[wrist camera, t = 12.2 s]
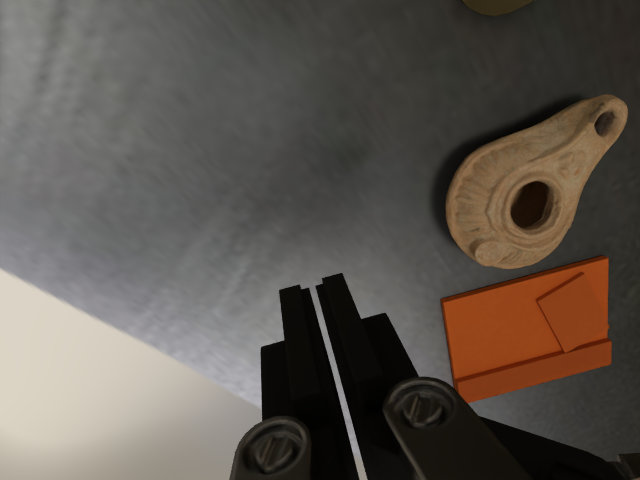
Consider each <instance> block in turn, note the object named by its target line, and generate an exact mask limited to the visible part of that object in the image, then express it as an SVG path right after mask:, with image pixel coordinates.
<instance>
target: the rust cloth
mask: <svg viewBox="0 0 640 480" xmlns="http://www.w3.org/2000/svg"><path fill="white" fill-rule="evenodd" d="M441 305H442V311H443V317H444V324H445V330H446V337H447V343H448V350H449V356H450V363H451V369H452V376H453V382H454V389H455V390H456V391H457V392H458V393H459V394H460V395H461V397H462V398H463V399H464V400H465V401H466V402H467V403H470V402H474V401H477V400H481V399H485V398H488V397H492V396H496V395H500V394H503V393H507V392H511V391H514V390H518V389H522V388H525V387H529V386H533V385H536V384H540V383H544V382H547V381H551V380H555V379H558V378H562V377H566V376H569V375H573V374H577V373H580V372H584V371H588V370H591V369H595V368H599V367H602V366H606V365H610V364H611V343H612V342H611V340H609V339H608V338H607V329H608V328H610V327H609V325H608V323H607V319H608V258H607V257H605V256H599V257H595V258H592V259H588V260H584V261H580V262H577V263H573V264H569V265H566V266H562V267H558V268H554V269H551V270H547V271H543V272H540V273H536V274H532V275H528V276H525V277H521V278H517V279H513V280H510V281H506V282H502V283H499V284H495V285H491V286H487V287H484V288H480V289H476V290H473V291H469V292H465V293H461V294H458V295H454V296H450V297H447V298H443V299H441Z"/></svg>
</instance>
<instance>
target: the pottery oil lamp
mask: <svg viewBox="0 0 640 480" xmlns="http://www.w3.org/2000/svg"><path fill="white" fill-rule="evenodd" d="M627 117H628V109H627V106H626V104H625V103H624V102H623V101H622V100H620V99H619V98H617V97H615V96H613V95H607V94H605V95H600V96H597V97H593V98H588V99H584V100H581V101H579V102H576V103H574V104H572V105H570V106H568V107H567V108H565V109H563V110H561V111H560V112H558V113H556V114H555V115H553V116H551V117H550V118H548V119H546V120H544V121H542V122H540V123H539V124H537V125H534V126H532V127H530V128H527V129H524V130H522V131H519V132H516V133H513V134H511V135H508V136H505V137H502V138H500V139H497V140H495V141H492V142H490V143H487V144H485V145H483V146H481V147H479V148H478V149H476V150H475V151H473V152H472V153H471V154H469V155H468V156H467V157H466V158H465V159H464V161H463V162H462V163H461V165H460V166H459V168H458V169H457V171H456V172H455V175H454V177H453V179H452V182H451V184H450V186H449V189H448V192H447V196H446V204H445V207H446V220H447V224H448V227H449V230H450V233H451V236H452V237H453V239H454V240H455V242H456V243H457V244H458V246H459V247H460V248H461V249H462V250H463V251H464V253H465V254H467V255H468V256H469V257H470V258H472V259H473V260H475V261H477V262H478V263H479V264H481V265H483V266H494V267H498V268H504V269H513V268H519V267H523V266H527V265H532V264H534V263H536V262H538V261H540V260H541V259H543V258H545V257H546V256H547V255H549V254H550V253H551V252H552V251H553V250H554V249H555V248H556V247H557V246H558V244H559V243H560V242H561V241H562V239H563V237H564V235H565V234H566V232H567V230H568V229H569V228H570V227H571V223H572V222H573V220H574V215H575V211H576V208H577V205H578V201H579V198H580V195H581V192H582V190H583V187H584V185H585V183H586V181H587V179H588V178H589V176H590V174H591V172H592V170H593V169H594V167H595V166H596V164H597V163H598V162H599V160H600V159H601V158H602V156H603V155H604V154H605V153H606V151H607V150H608V149H609V148H610V146H611V145H612V144H613V143H614V142H615V141H616V140H617V138H618V137H619V135H620V133H621V132H622V131H623V129H624V126H625V124H626V121H627Z"/></svg>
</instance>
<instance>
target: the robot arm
mask: <svg viewBox="0 0 640 480" xmlns="http://www.w3.org/2000/svg"><path fill="white" fill-rule="evenodd" d="M322 281H323V284H320V285H316V290H317V294H318V297H319V301H320V305H321V308H322V312H323V316H324V320H325V323H326V327H327V331H328V334H329V338H330V342H331V346H332V349H333V353H334V357H335V360H336V364H337V368H338V372H339V375H340V379H341V383H342V386H343V390H344V394H345V398H346V401H347V405H348V409H349V412H350V416H351V420H352V423H353V427H354V431H355V435H356V438H357V442H358V446H359V449H360V453H361V457H362V461H363V464H364V468H365V472H366V475H367V479H368V480H640V453H630V454H617V461H612V462H606V461H605V460H603V459H602V458H600V457H598V456H595V455H593V454H591V453H589V452H587V451H584V450H580V449H577V448H574V447H571V446H568V445H565V444H562V443H559V442H556V441H553V440H550V439H547V438H544V437H541V436H538V435H535V434H532V433H529V432H526V431H523V430H520V429H517V428H514V427H511V426H508V425H505V424H502V423H499V422H496V421H493V420H490V419H487V418H484V417H481V416H478V415H477V414H476V413H475V412H474V410H473V409H472V408H471V407H470V406H469V405H468V404H467V402H466V401H465V400H464V399H463V398H462V397H461V395H460V394H459V393H458V392H457V391H456V390H455V389H454V388H453V387H452V386H450V385H449V384H448V383H446V382H444V381H442V380H439V379H437V378H431V377H419V376H418V374H417V372H416V370H415V368H414V366H413V364H412V362H411V360H410V358H409V356H408V354H407V352H406V351H405V349H404V347H403V345H402V343H401V341H400V339H399V337H398V335H397V333H396V331H395V329H394V327H393V325H392V323H391V322H390V320H389V318H388V316H387V314H386V313H382V314H378V315H374V316H371V317H367V318H364V319H361V318H360V315H359V313H358V311H357V308H356V306H355V303H354V301H353V298H352V296H351V293H350V291H349V289H348V286H347V284H346V281H345V279H344V276H343V274H342V273H340V274H336V275H332V276H329V277H325V278H322ZM279 294H280V303H281V312H282V321H283V330H284V341H281V342H277V343H273V344H270V345H266V346H263V347H261V388H262V422H260V423H258V424H256V425H255V426H254V427H252V428H251V429H250V430H249V431H248V432H247V433H246V434H245V435H244V437H243V438H242V439H241V441H240V442H239V444H238V447H237V449H236V452H235V456H234V460H233V465H232V470H231V475H230V479H229V480H359V476H358V472H357V468H356V464H355V460H354V456H353V452H352V448H351V444H350V440H349V436H348V432H347V428H346V424H345V420H344V416H343V412H342V408H341V404H340V400H339V396H338V392H337V388H336V384H335V380H334V376H333V373H332V369H331V365H330V362H329V358H328V355H327V351H326V347H325V344H324V340H323V336H322V333H321V329H320V326H319V322H318V318H317V315H316V311H315V308H314V304H313V300H312V297H311V293H310V290H309V288H305V289H302V290H301V287H300V284H299V285H296V286H292V287H288V288H285V289H281V290H279Z"/></svg>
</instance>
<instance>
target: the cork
mask: <svg viewBox="0 0 640 480" xmlns="http://www.w3.org/2000/svg"><path fill="white" fill-rule="evenodd" d="M462 1H463V2H464V3H465V4H466V6H467V7H468V8H470V9H472V10H474V11H476V12H477V13H479V14H482V15H490V16H498V15H502V14H506V13H510V12H512V11H514V10H516V9H518V8H520V7H522V6H524V5H526V4H528V3H530V2H532V1H534V0H462Z"/></svg>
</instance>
